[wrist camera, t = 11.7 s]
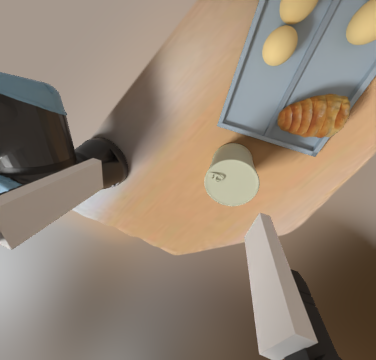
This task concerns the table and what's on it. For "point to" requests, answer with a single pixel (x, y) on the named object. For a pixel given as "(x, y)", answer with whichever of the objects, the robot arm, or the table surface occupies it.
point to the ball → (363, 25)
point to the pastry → (315, 116)
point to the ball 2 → (296, 10)
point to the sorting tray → (297, 72)
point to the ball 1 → (279, 45)
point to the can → (232, 176)
